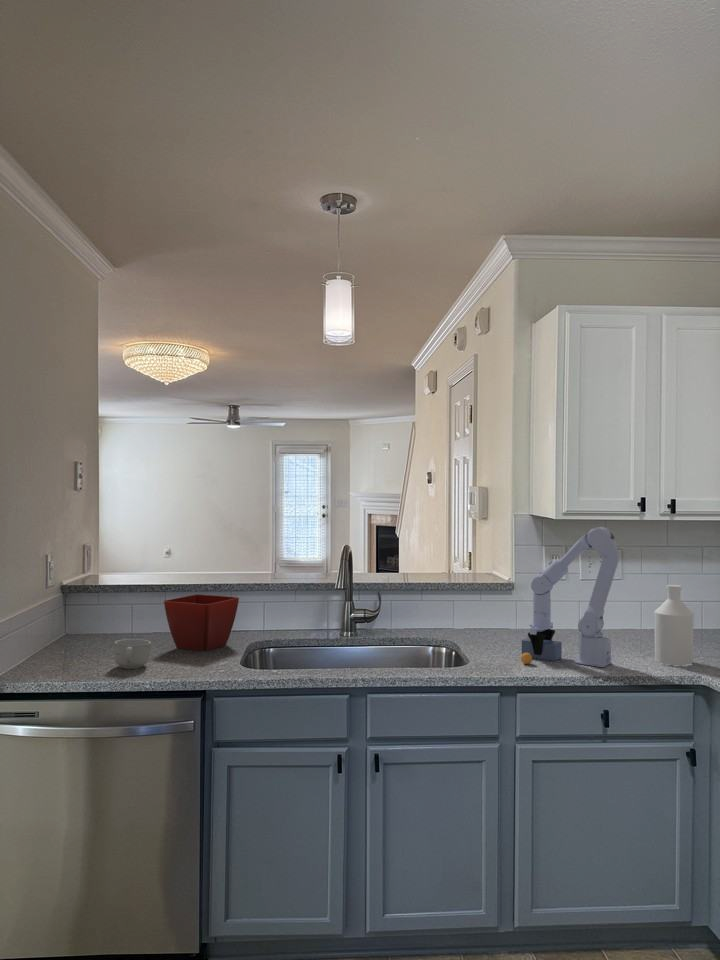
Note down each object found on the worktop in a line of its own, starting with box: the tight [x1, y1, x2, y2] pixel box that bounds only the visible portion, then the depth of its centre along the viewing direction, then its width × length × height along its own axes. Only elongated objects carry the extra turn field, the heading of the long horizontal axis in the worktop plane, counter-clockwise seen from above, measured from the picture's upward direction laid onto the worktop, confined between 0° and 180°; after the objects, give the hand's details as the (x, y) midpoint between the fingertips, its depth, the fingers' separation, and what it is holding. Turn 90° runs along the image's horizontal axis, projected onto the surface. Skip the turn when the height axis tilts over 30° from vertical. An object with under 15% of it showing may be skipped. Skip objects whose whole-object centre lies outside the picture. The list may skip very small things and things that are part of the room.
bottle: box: [653, 584, 695, 665], centre depth 244 cm, size 12×12×25 cm
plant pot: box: [163, 594, 240, 652], centre depth 263 cm, size 19×19×17 cm
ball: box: [520, 653, 533, 665], centre depth 241 cm, size 4×4×4 cm
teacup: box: [113, 638, 152, 670], centre depth 232 cm, size 14×11×8 cm
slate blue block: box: [521, 637, 563, 662], centre depth 250 cm, size 12×6×5 cm, turn 53°
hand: (541, 652), depth 250 cm, fingers closed on slate blue block, 6 cm apart
